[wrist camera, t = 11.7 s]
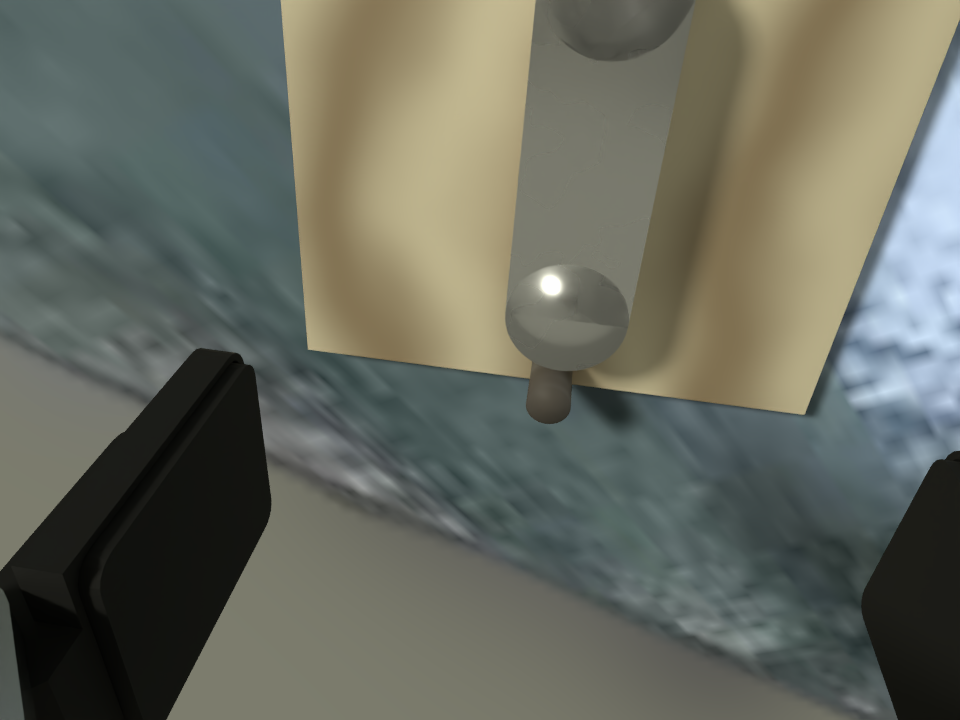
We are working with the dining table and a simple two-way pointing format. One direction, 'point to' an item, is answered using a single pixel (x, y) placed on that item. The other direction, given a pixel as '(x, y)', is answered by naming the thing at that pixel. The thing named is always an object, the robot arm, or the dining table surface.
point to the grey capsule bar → (589, 171)
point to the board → (678, 201)
